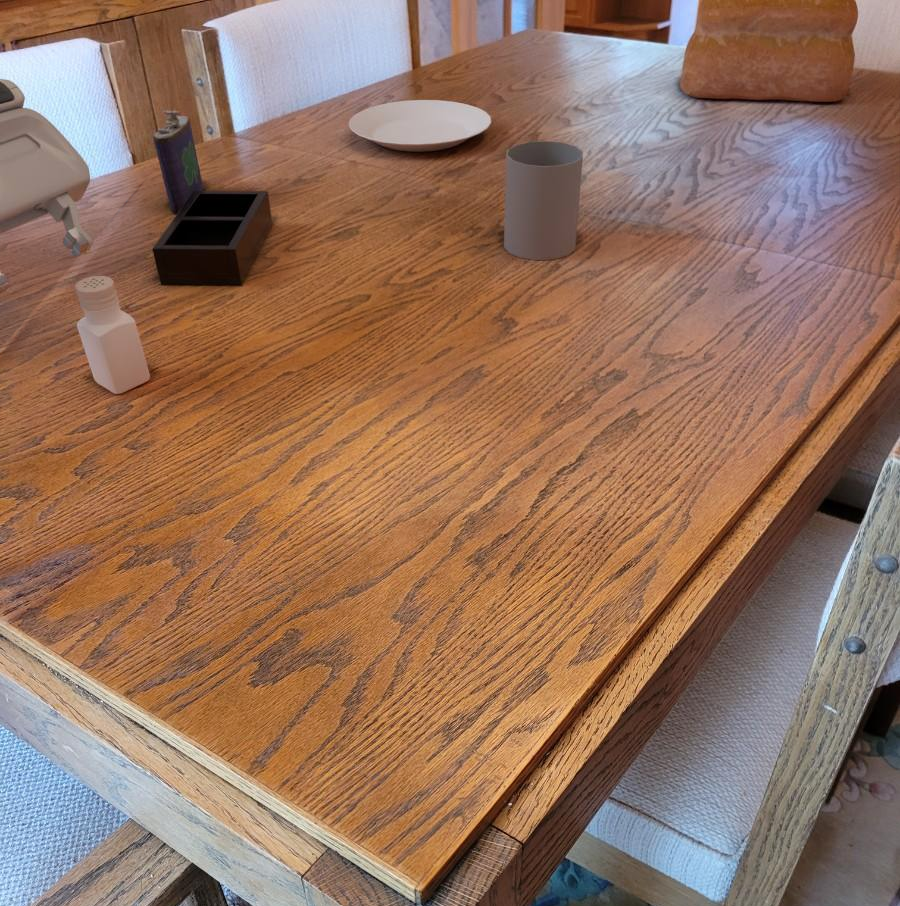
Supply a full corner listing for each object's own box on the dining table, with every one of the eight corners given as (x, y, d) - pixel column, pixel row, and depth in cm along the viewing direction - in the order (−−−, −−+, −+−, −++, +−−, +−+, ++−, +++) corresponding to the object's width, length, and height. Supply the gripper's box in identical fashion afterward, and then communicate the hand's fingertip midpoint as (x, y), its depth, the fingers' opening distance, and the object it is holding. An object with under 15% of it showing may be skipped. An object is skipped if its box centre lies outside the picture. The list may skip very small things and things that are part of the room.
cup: (494, 254, 103) (495, 161, 96) (515, 227, 108) (518, 138, 101) (566, 264, 101) (573, 170, 94) (583, 236, 106) (591, 145, 99)
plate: (519, 141, 131) (520, 124, 130) (397, 171, 123) (396, 154, 121) (440, 107, 144) (440, 92, 142) (324, 132, 136) (323, 116, 134)
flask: (188, 188, 120) (170, 98, 112) (209, 188, 119) (193, 99, 112) (166, 214, 113) (145, 122, 105) (189, 215, 113) (170, 122, 105)
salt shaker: (117, 398, 81) (86, 298, 75) (92, 383, 83) (60, 284, 77) (154, 381, 84) (127, 282, 77) (129, 366, 85) (101, 269, 79)
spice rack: (160, 285, 98) (151, 248, 96) (200, 224, 111) (193, 190, 108) (241, 285, 98) (235, 249, 95) (272, 224, 110) (267, 190, 107)
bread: (678, 79, 154) (693, -28, 143) (837, 83, 150) (865, -26, 140) (679, 102, 144) (696, -11, 134) (850, 107, 141) (880, -8, 130)
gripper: (-191, 142, 66) (-49, 297, 69) (28, 76, 79) (139, 209, 82) (-197, 195, 71) (-64, 338, 74) (10, 124, 84) (116, 249, 87)
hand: (44, 269), depth 78 cm, fingers open, 8 cm apart
